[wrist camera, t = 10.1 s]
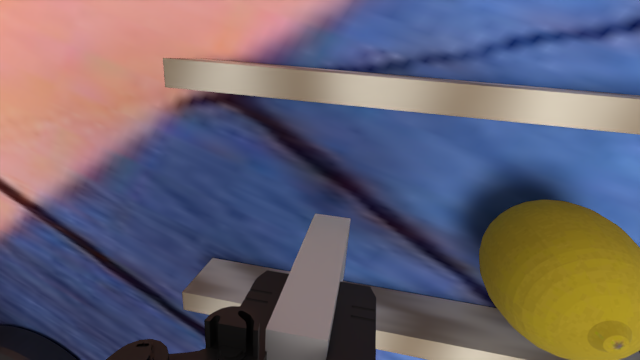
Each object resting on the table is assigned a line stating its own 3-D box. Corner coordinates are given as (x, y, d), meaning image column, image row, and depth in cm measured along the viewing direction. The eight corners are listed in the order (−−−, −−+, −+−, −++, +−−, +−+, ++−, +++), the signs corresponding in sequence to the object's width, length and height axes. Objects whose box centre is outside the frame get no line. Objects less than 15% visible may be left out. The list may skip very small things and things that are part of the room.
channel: (213, 273, 22) (183, 309, 19) (204, 58, 18) (162, 58, 14) (635, 351, 19) (688, 412, 15) (764, 106, 14) (878, 119, 11)
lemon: (538, 289, 18) (640, 440, 11) (443, 246, 19) (481, 366, 11) (606, 205, 16) (788, 321, 9) (500, 158, 17) (591, 233, 9)
